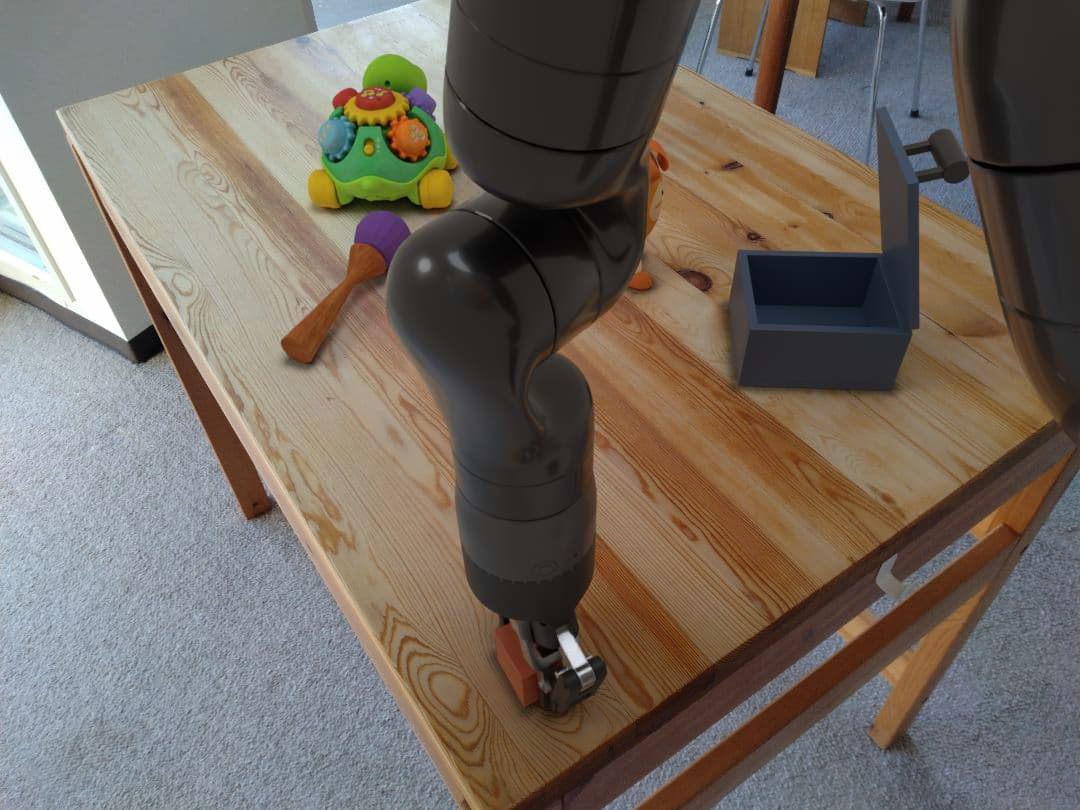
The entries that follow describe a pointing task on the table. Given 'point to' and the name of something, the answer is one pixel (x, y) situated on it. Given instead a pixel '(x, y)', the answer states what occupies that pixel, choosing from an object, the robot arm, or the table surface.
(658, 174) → the toy figure
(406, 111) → the turtle toy
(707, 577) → the table surface
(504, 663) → the block
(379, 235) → the purple toy maraca
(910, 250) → the lid
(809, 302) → the dark blue box
